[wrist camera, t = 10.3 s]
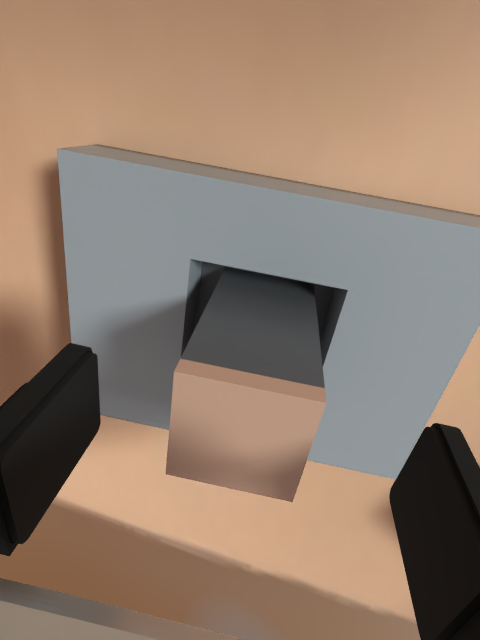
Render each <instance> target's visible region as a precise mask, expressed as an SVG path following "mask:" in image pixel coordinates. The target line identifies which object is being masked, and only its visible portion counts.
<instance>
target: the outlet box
mask: <svg viewBox="0 0 480 640" xmlns="http://www.w3.org/2000/svg"><path fill="white" fill-rule="evenodd" d="M57 155H58V169H59V182H60V196H61V209H62V223H63V236H64V250H65V263H66V277H67V290H68V304H69V317H70V331H71V343H73V344H78V345H82V346H87V347H90V348H91V349H92V352H93V353H95V354H97V358H98V378H99V400H100V415H103V416H108V417H112V418H117V419H122V420H126V421H131V422H135V423H140V424H144V425H149V426H154V427H158V428H163V429H167V430H169V427H170V415H171V403H172V391H173V378H174V371H175V369H176V367H177V364H178V362H179V360H180V358H181V356H182V354H183V352H184V350H185V348H186V346H187V344H188V342H189V340H190V338H191V336H192V334H193V332H194V330H195V328H196V326H197V324H198V322H199V320H200V318H201V316H202V314H203V312H204V310H205V308H206V306H207V304H208V302H209V300H210V298H211V296H212V294H213V292H214V289H215V287H216V285H217V283H218V281H219V279H220V277H221V275H222V273H223V271H224V269H225V267H227V268H232V269H237V270H242V271H248V272H253V273H258V274H263V275H268V276H274V277H279V278H284V279H289V280H294V281H300V282H305V283H310V284H314V291H315V300H316V310H317V319H318V328H319V338H320V347H321V356H322V366H323V375H324V384H325V394H326V406H325V409H324V412H323V415H322V418H321V420H320V423H319V426H318V429H317V432H316V435H315V438H314V441H313V444H312V447H311V449H310V452H309V455H308V458H307V460H309V461H314V462H318V463H323V464H327V465H332V466H336V467H341V468H346V469H350V470H355V471H359V472H364V473H368V474H373V475H378V476H382V477H387V478H391V479H396V478H397V477H398V475H399V473H400V471H401V470H402V468H403V466H404V464H405V462H406V460H407V459H408V457H409V455H410V453H411V451H412V449H413V448H414V446H415V444H416V442H417V440H418V438H419V436H420V435H421V433H422V431H423V429H424V427H425V425H426V423H427V422H428V420H429V418H430V416H431V414H432V412H433V410H434V409H435V407H436V405H437V403H438V401H439V399H440V398H441V396H442V394H443V392H444V390H445V388H446V386H447V385H448V383H449V381H450V379H451V377H452V375H453V373H454V372H455V370H456V368H457V366H458V364H459V362H460V361H461V359H462V357H463V355H464V353H465V351H466V349H467V348H468V346H469V344H470V342H471V340H472V338H473V336H474V335H475V333H476V331H477V329H478V327H479V325H480V216H479V215H474V214H468V213H463V212H457V211H452V210H447V209H441V208H436V207H431V206H425V205H420V204H415V203H409V202H404V201H398V200H393V199H388V198H382V197H377V196H372V195H366V194H361V193H356V192H350V191H345V190H339V189H334V188H329V187H323V186H318V185H313V184H307V183H302V182H297V181H291V180H286V179H280V178H275V177H270V176H264V175H259V174H254V173H248V172H243V171H238V170H232V169H227V168H221V167H216V166H211V165H205V164H200V163H195V162H189V161H184V160H179V159H173V158H168V157H162V156H157V155H152V154H146V153H141V152H136V151H130V150H125V149H120V148H114V147H109V146H103V145H98V144H97V145H88V146H78V147H69V148H60V149H57Z"/></svg>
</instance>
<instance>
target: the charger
mask: <svg viewBox="0 0 480 640" xmlns="http://www.w3.org/2000/svg"><path fill="white" fill-rule="evenodd" d="M325 406H326V394H325V384H324V375H323V366H322V356H321V347H320V338H319V328H318V319H317V310H316V300H315V291H314V284H310V283H305V282H300V281H294V280H289V279H284V278H279V277H274V276H268V275H263V274H258V273H253V272H248V271H242V270H237V269H232V268H227V267H225V269H224V271H223V273H222V275H221V277H220V279H219V281H218V283H217V285H216V287H215V289H214V292H213V294H212V296H211V298H210V300H209V302H208V304H207V306H206V308H205V310H204V312H203V314H202V316H201V318H200V320H199V322H198V324H197V326H196V328H195V330H194V332H193V334H192V336H191V338H190V340H189V342H188V344H187V346H186V348H185V350H184V352H183V354H182V356H181V358H180V360H179V362H178V364H177V367H176V369H175V371H174V378H173V391H172V403H171V415H170V427H169V440H168V452H167V464H166V474H168V475H172V476H177V477H181V478H186V479H190V480H195V481H199V482H204V483H208V484H213V485H218V486H222V487H227V488H231V489H236V490H240V491H245V492H249V493H254V494H258V495H263V496H267V497H272V498H277V499H281V500H286V501H290V502H293V499H294V496H295V493H296V490H297V487H298V484H299V481H300V478H301V476H302V473H303V470H304V467H305V464H306V461H307V458H308V455H309V452H310V449H311V447H312V444H313V441H314V438H315V435H316V432H317V429H318V426H319V423H320V420H321V418H322V415H323V412H324V409H325Z"/></svg>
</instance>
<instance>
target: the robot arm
mask: <svg viewBox="0 0 480 640" xmlns="http://www.w3.org/2000/svg"><path fill="white" fill-rule="evenodd" d="M99 426H100V400H99V378H98V358H97V354H95V353H93V352H92V349H91V348H90V347H87V346H82V345H78V344H73V343H69V344H68V345H66V346H65V347H64V348H63V349H62V350H61V351H60V352H59V353H58V354H57V355H56V356H55V357H54V358H53V359H52V360H51V361H50V362H49V363H48V364H47V365H46V366H45V367H44V368H43V369H42V370H41V371H40V372H39V373H38V374H37V375H36V376H35V377H34V378H32V379H31V380H30V381H29V382H28V383H25V384H24V385H23V386H21V387H20V388H19V389H18V390H17V391H16V392H15V393H14V394H13V395H12V396H11V397H10V398H9V399H8V400H7V401H6V402H4V403H3V404H2V405H1V406H0V554H2V555H7V556H10V555H11V553H12V552H13V550H14V549H15V547H16V546H17V544H18V543H19V544H23V543H24V542H26V540H27V539H28V538H29V537H30V535H31V534H32V532H33V530H34V529H35V528H36V526H37V524H38V523H39V521H40V520H41V518H42V517H43V515H44V514H45V512H46V510H47V509H48V507H49V506H50V504H51V503H52V501H53V500H54V498H55V497H56V495H57V494H58V492H59V491H60V489H61V487H62V486H63V484H64V483H65V481H66V480H67V478H68V477H69V475H70V474H71V472H72V471H73V469H74V467H75V466H76V464H77V463H78V461H79V460H80V458H81V457H82V455H83V454H84V452H85V451H86V449H87V447H88V446H89V444H90V443H91V441H92V440H93V438H94V437H95V435H96V434H97V432H98V429H99ZM390 504H391V509H392V513H393V518H394V522H395V527H396V531H397V536H398V540H399V545H400V549H401V554H402V558H403V563H404V567H405V572H406V576H407V581H408V585H409V590H410V594H411V599H412V603H413V608H414V612H415V617H416V621H417V626H418V630H419V634H420V638H421V640H480V468H479V466H478V464H477V462H476V460H475V458H474V456H473V454H472V452H471V450H470V448H469V446H468V444H467V442H466V440H465V438H464V436H463V434H462V432H461V430H460V429H458V428H456V427H452V426H447V425H443V424H438V423H435V424H433V425H432V426H431V427H426V428H425V429H424V430H423V432H422V434H421V436H420V437H419V439H418V441H417V443H416V445H415V446H414V448H413V450H412V452H411V453H410V455H409V457H408V459H407V461H406V462H405V464H404V466H403V468H402V470H401V471H400V473H399V475H398V477H397V478H396V480H395V482H394V484H393V486H392V487H391V490H390ZM0 640H246V639H242V638H238V637H234V636H230V635H227V634H223V633H219V632H215V631H211V630H207V629H203V628H199V627H196V626H192V625H188V624H184V623H180V622H176V621H172V620H168V619H164V618H160V617H156V616H153V615H148V614H145V613H141V612H136V611H133V610H129V609H125V608H121V607H116V606H113V605H109V604H104V603H101V602H97V601H93V600H89V599H85V598H81V597H77V596H73V595H69V594H65V593H61V592H57V591H53V590H49V589H45V588H40V587H36V586H31V585H28V584H23V583H19V582H14V581H10V580H6V579H2V578H0Z"/></svg>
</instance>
